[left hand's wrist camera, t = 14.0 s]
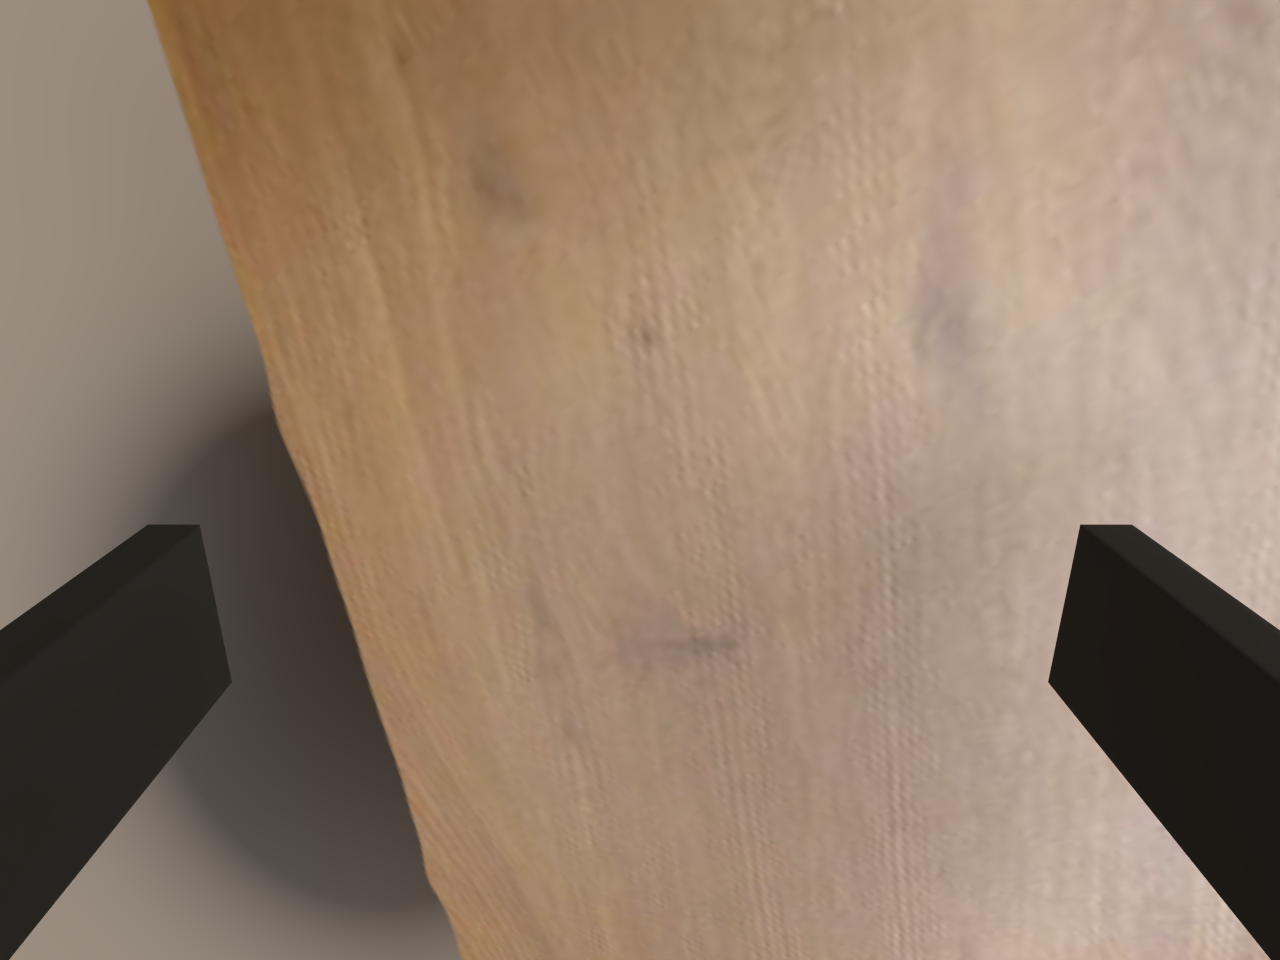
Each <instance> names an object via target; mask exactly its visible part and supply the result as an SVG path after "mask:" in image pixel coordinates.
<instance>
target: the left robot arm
mask: <svg viewBox="0 0 1280 960" xmlns="http://www.w3.org/2000/svg"><path fill="white" fill-rule="evenodd" d="M231 682H232V681H231V676H230V671H229V666H228V661H227V656H226V651H225V647H224V642H223V637H222V632H221V627H220V622H219V617H218V612H217V608H216V603H215V598H214V593H213V588H212V583H211V578H210V573H209V569H208V564H207V559H206V554H205V549H204V544H203V539H202V535H201V530H200V525H147V526H146V527H144V528H143V529H141V530H140V531H139V532H137V533H136V534H134V535H133V536H132V537H130V538H129V539H127V540H126V541H125V542H123V543H122V544H120V545H119V546H118V547H116V548H115V549H113V550H112V551H111V552H109V553H108V554H106V555H105V556H104V557H102V558H101V559H99V560H98V561H97V562H95V563H94V564H92V565H91V566H90V567H88V568H87V569H85V570H84V571H83V572H81V573H80V574H78V575H77V576H76V577H74V578H73V579H71V580H70V581H69V582H67V583H66V584H64V585H63V586H62V587H60V588H59V589H57V590H56V591H55V592H53V593H52V594H50V595H49V596H48V597H46V598H45V599H43V600H42V601H41V602H39V603H38V604H36V605H35V606H34V607H32V608H31V609H29V610H28V611H27V612H25V613H24V614H22V615H21V616H20V617H18V618H17V619H15V620H14V621H13V622H11V623H10V624H8V625H7V626H6V627H4V628H3V629H1V630H0V960H9V959H10V958H11V957H12V955H13V954H14V953H15V952H16V950H17V949H18V948H19V946H20V945H21V944H22V943H23V942H24V940H25V939H26V938H27V937H28V935H29V934H30V933H31V932H32V930H33V929H34V928H35V927H36V925H37V924H38V923H39V922H40V920H41V919H42V918H43V917H44V915H45V914H46V913H47V912H48V910H49V909H50V908H51V907H52V905H53V904H54V903H55V902H56V900H57V899H58V898H59V897H60V895H61V894H62V893H63V892H64V890H65V889H66V888H67V887H68V885H69V884H70V883H71V882H72V880H73V879H74V878H75V877H76V875H77V874H78V873H79V872H80V871H81V869H82V868H83V867H84V866H85V864H86V863H87V862H88V861H89V859H90V858H91V857H92V856H93V854H94V853H95V852H96V851H97V849H98V848H99V847H100V846H101V844H102V843H103V842H104V841H105V839H106V838H107V837H108V836H109V834H110V833H111V832H112V831H113V829H114V828H115V827H116V826H117V824H118V823H119V822H120V821H121V819H122V818H123V817H124V816H125V814H126V813H127V812H128V811H129V809H130V808H131V807H132V806H133V805H134V803H135V802H136V801H137V799H138V798H139V797H140V796H141V794H142V793H143V792H144V791H145V790H146V788H147V787H148V786H149V785H150V783H151V782H152V781H153V780H154V778H155V777H156V776H157V775H158V773H159V772H160V771H161V770H162V768H163V767H164V766H165V765H166V763H167V762H168V761H169V760H170V758H171V757H172V756H173V755H174V753H175V752H176V751H177V750H178V748H179V747H180V746H181V745H182V743H183V742H184V741H185V740H186V738H187V737H188V736H189V735H190V733H191V732H192V731H193V730H194V729H195V727H196V726H197V725H198V724H199V722H200V721H201V720H202V719H203V717H204V716H205V715H206V714H207V712H208V711H209V710H210V709H211V707H212V706H213V705H214V704H215V702H216V701H217V700H218V699H219V697H220V696H221V695H222V694H223V692H224V691H225V690H226V689H227V687H228V686H229V685H230V684H231ZM1048 682H1049V684H1050V685H1051V686H1052V687H1053V689H1054V690H1055V691H1056V692H1057V694H1058V695H1059V696H1060V697H1061V699H1062V700H1063V701H1064V702H1065V704H1066V705H1067V706H1068V707H1069V709H1070V710H1071V711H1072V712H1073V714H1074V715H1075V716H1076V717H1077V719H1078V720H1079V721H1080V722H1081V724H1082V725H1083V726H1084V727H1085V729H1086V730H1087V731H1088V732H1089V734H1090V735H1091V736H1092V737H1093V738H1094V740H1095V741H1096V742H1097V743H1098V745H1099V746H1100V747H1101V748H1102V750H1103V751H1104V752H1105V753H1106V755H1107V756H1108V757H1109V758H1110V760H1111V761H1112V762H1113V763H1114V765H1115V766H1116V767H1117V768H1118V770H1119V771H1120V772H1121V773H1122V775H1123V776H1124V777H1125V778H1126V780H1127V781H1128V782H1129V783H1130V785H1131V786H1132V787H1133V788H1134V790H1135V791H1136V792H1137V793H1138V795H1139V796H1140V797H1141V798H1142V800H1143V801H1144V802H1145V803H1146V805H1147V806H1148V807H1149V808H1150V810H1151V811H1152V812H1153V813H1154V814H1155V816H1156V817H1157V818H1158V819H1159V821H1160V822H1161V823H1162V824H1163V826H1164V827H1165V828H1166V829H1167V831H1168V832H1169V833H1170V834H1171V836H1172V837H1173V838H1174V839H1175V841H1176V842H1177V843H1178V844H1179V846H1180V847H1181V848H1182V849H1183V851H1184V852H1185V853H1186V854H1187V856H1188V857H1189V858H1190V859H1191V861H1192V862H1193V863H1194V864H1195V866H1196V867H1197V868H1198V869H1199V871H1200V872H1201V873H1202V874H1203V876H1204V877H1205V878H1206V879H1207V881H1208V882H1209V883H1210V884H1211V885H1212V887H1213V888H1214V889H1215V890H1216V892H1217V893H1218V894H1219V895H1220V897H1221V898H1222V899H1223V900H1224V902H1225V903H1226V904H1227V905H1228V907H1229V908H1230V909H1231V910H1232V912H1233V913H1234V914H1235V915H1236V917H1237V918H1238V919H1239V920H1240V922H1241V923H1242V924H1243V925H1244V927H1245V928H1246V929H1247V930H1248V932H1249V933H1250V934H1251V935H1252V937H1253V938H1254V939H1255V940H1256V942H1257V943H1258V944H1259V945H1260V947H1261V948H1262V949H1263V950H1264V952H1265V953H1266V954H1267V955H1268V957H1269V958H1270V959H1271V960H1280V630H1279V629H1277V628H1276V627H1274V626H1273V625H1272V624H1270V623H1269V622H1267V621H1266V620H1265V619H1263V618H1262V617H1260V616H1259V615H1258V614H1256V613H1255V612H1253V611H1252V610H1251V609H1249V608H1248V607H1246V606H1245V605H1244V604H1242V603H1241V602H1239V601H1238V600H1237V599H1235V598H1234V597H1232V596H1231V595H1230V594H1228V593H1227V592H1225V591H1224V590H1223V589H1221V588H1220V587H1218V586H1217V585H1216V584H1214V583H1213V582H1211V581H1210V580H1209V579H1207V578H1206V577H1204V576H1203V575H1202V574H1200V573H1199V572H1197V571H1196V570H1195V569H1193V568H1192V567H1190V566H1189V565H1188V564H1186V563H1185V562H1183V561H1182V560H1181V559H1179V558H1178V557H1176V556H1175V555H1174V554H1172V553H1171V552H1169V551H1168V550H1167V549H1165V548H1164V547H1162V546H1161V545H1160V544H1158V543H1157V542H1155V541H1154V540H1153V539H1151V538H1150V537H1148V536H1147V535H1146V534H1144V533H1143V532H1141V531H1140V530H1139V529H1137V528H1136V527H1134V526H1133V525H1080V530H1079V534H1078V539H1077V544H1076V549H1075V554H1074V559H1073V564H1072V569H1071V573H1070V578H1069V583H1068V588H1067V593H1066V598H1065V603H1064V608H1063V612H1062V617H1061V622H1060V627H1059V632H1058V637H1057V642H1056V647H1055V651H1054V656H1053V661H1052V666H1051V671H1050V676H1049V681H1048Z"/></svg>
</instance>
